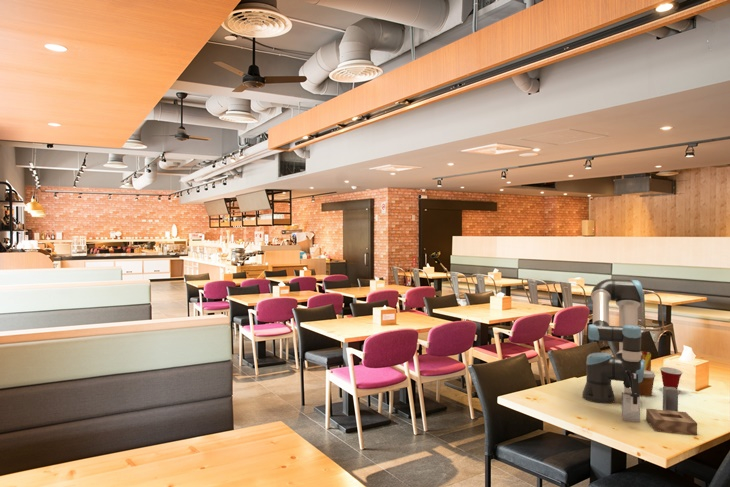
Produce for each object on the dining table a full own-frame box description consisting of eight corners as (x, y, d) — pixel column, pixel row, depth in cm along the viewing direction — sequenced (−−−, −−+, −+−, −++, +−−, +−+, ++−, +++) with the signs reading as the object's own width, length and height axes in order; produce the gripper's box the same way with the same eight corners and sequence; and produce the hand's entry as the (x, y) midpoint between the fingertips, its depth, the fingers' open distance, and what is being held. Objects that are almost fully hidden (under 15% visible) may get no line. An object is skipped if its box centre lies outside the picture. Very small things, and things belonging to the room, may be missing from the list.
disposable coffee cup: (635, 395, 263) (636, 373, 263) (633, 390, 272) (633, 368, 272) (656, 398, 260) (656, 375, 259) (653, 392, 268) (653, 370, 268)
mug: (630, 373, 307) (630, 354, 307) (634, 369, 317) (635, 350, 317) (647, 376, 301) (648, 356, 301) (652, 371, 311) (652, 352, 311)
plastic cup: (673, 395, 264) (674, 373, 264) (654, 389, 274) (655, 368, 274) (687, 393, 268) (687, 370, 268) (668, 387, 278) (668, 366, 278)
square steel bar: (665, 414, 235) (666, 389, 235) (662, 411, 240) (662, 386, 240) (677, 415, 234) (678, 390, 234) (674, 412, 239) (674, 387, 238)
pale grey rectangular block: (623, 420, 228) (623, 394, 227) (621, 418, 230) (621, 392, 230) (640, 422, 226) (640, 395, 225) (638, 419, 228) (638, 393, 228)
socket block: (654, 430, 215) (654, 419, 215) (646, 419, 229) (646, 408, 229) (697, 435, 211) (697, 423, 211) (685, 423, 224) (686, 412, 224)
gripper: (647, 366, 215) (647, 416, 215) (634, 354, 239) (633, 399, 238) (628, 365, 217) (628, 414, 217) (616, 353, 241) (616, 397, 241)
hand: (630, 406), depth 228 cm, fingers open, 13 cm apart
